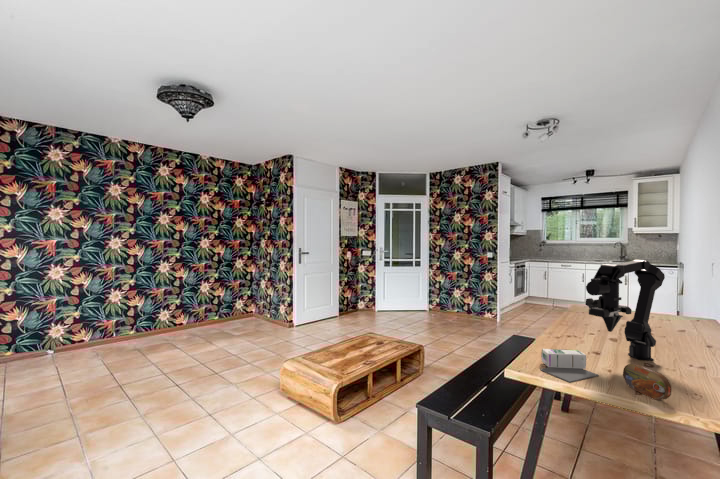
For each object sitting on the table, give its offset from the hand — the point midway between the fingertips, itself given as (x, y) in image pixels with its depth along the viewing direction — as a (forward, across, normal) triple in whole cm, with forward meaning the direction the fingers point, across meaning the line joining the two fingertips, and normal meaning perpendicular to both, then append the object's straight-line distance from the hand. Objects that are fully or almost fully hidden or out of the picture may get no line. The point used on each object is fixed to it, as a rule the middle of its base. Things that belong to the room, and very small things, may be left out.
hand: (609, 331), depth 137 cm
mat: (+13, +26, +1) cm, 29 cm away
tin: (+13, +18, +22) cm, 31 cm away
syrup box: (+10, +16, 0) cm, 19 cm away
